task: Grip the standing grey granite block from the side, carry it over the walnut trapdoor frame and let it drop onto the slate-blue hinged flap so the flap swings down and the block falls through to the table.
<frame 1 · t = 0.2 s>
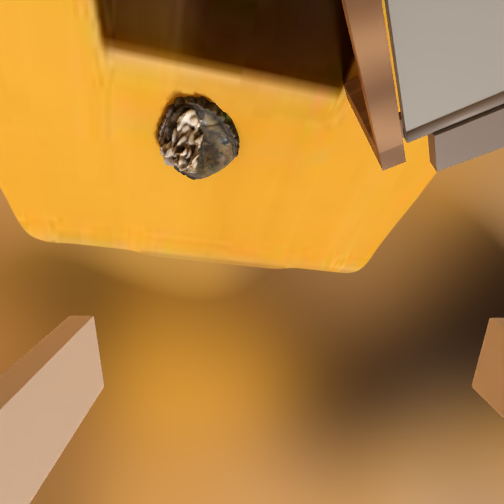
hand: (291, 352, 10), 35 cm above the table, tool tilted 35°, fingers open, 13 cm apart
flap: (487, 56, 22), point 14 cm above the table, hinge at 0.0°
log: (199, 138, 42), on the table
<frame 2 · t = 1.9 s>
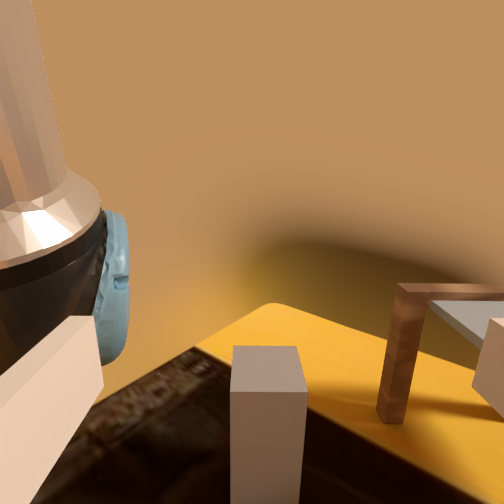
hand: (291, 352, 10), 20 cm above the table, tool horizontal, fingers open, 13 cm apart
granite block: (262, 488, 25), on the table
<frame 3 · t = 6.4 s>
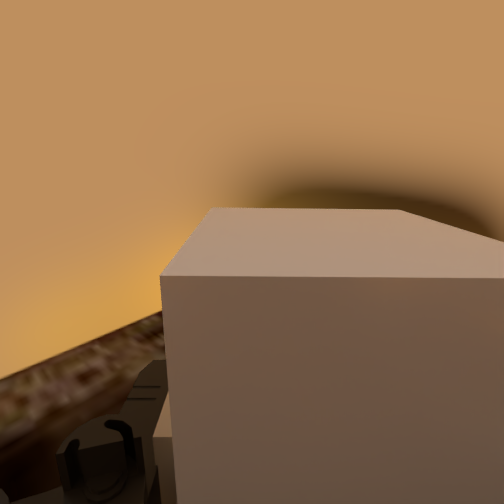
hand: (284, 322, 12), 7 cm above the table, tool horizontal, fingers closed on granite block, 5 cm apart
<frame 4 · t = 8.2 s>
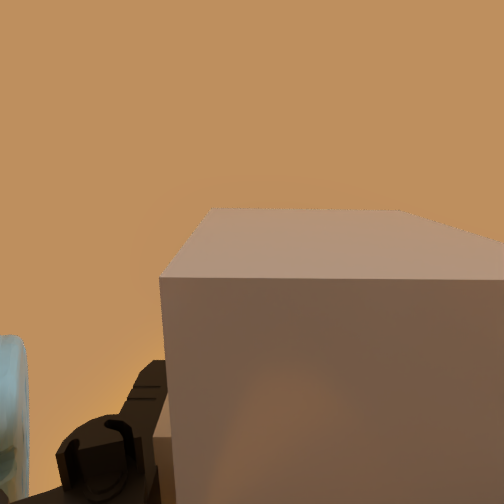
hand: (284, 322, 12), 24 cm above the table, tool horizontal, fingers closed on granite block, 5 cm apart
when the fingers open (24 cm above the table, at t = 9.8 s): granite block drops 4 cm, resting on flap.
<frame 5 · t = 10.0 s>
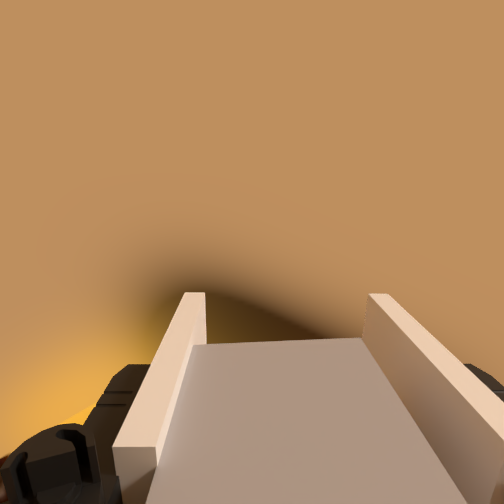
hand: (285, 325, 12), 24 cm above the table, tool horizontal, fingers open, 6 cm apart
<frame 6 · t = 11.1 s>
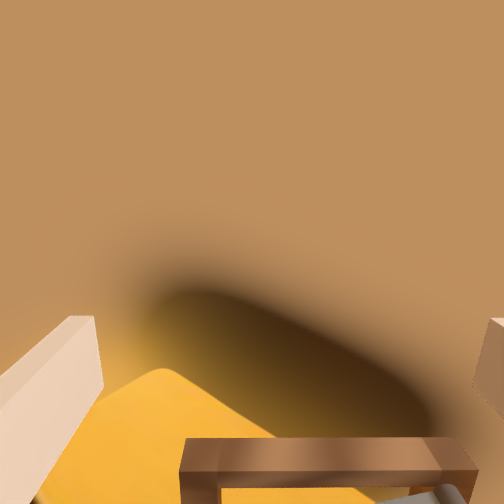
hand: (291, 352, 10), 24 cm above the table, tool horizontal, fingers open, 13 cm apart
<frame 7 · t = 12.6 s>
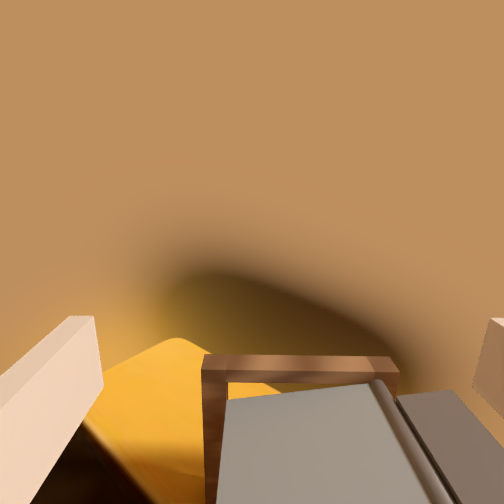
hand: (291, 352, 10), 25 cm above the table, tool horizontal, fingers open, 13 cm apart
flap: (354, 463, 19), point 13 cm above the table, hinge at -9.1°
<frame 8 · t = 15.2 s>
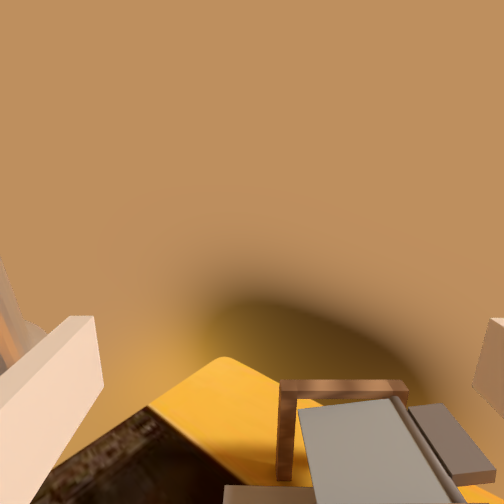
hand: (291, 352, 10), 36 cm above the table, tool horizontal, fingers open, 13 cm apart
flap: (385, 447, 32), point 13 cm above the table, hinge at -8.4°
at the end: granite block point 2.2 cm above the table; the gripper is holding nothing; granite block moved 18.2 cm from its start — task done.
